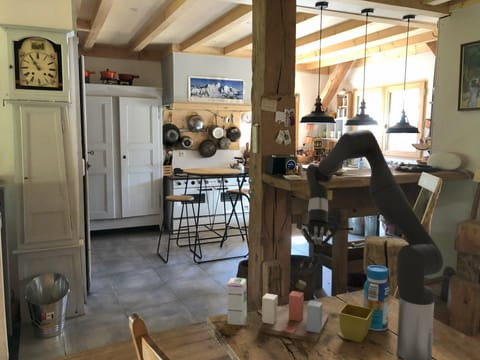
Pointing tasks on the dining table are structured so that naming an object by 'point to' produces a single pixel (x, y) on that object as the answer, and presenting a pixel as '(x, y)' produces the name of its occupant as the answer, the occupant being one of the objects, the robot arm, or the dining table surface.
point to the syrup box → (236, 301)
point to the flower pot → (355, 321)
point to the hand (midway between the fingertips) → (316, 255)
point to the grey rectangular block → (314, 316)
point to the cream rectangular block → (269, 308)
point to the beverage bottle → (377, 296)
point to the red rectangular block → (296, 305)
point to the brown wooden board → (292, 326)
